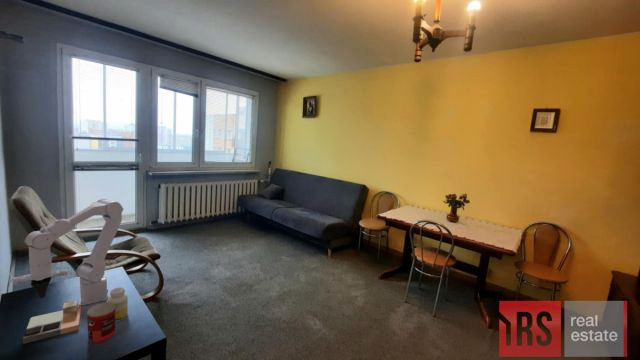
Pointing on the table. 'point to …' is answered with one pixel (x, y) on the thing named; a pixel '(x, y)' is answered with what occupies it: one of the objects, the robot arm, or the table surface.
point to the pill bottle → (119, 303)
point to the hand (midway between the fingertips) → (42, 296)
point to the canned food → (101, 322)
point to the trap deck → (51, 325)
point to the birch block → (70, 309)
